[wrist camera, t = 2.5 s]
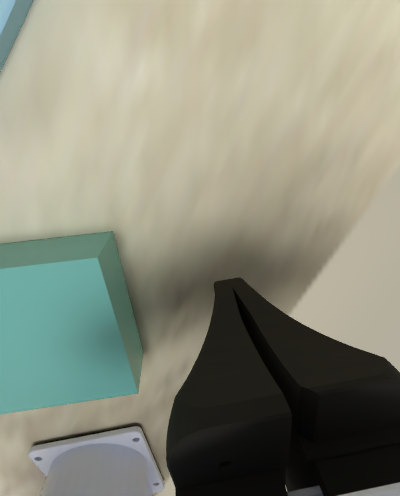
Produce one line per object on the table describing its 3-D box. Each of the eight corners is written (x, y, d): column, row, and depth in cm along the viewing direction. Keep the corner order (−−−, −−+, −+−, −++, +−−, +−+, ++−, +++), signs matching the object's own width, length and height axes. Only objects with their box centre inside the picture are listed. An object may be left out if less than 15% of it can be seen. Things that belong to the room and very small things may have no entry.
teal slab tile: (143, 347, 15) (138, 393, 13) (-24, 370, 15) (-67, 424, 12) (114, 228, 12) (97, 257, 9) (-107, 252, 11) (-196, 291, 8)
